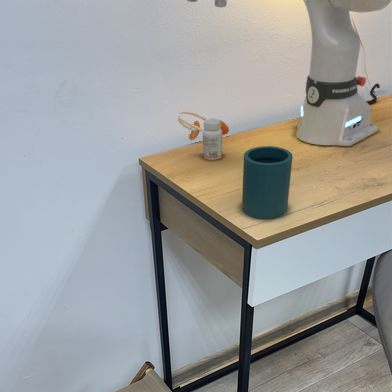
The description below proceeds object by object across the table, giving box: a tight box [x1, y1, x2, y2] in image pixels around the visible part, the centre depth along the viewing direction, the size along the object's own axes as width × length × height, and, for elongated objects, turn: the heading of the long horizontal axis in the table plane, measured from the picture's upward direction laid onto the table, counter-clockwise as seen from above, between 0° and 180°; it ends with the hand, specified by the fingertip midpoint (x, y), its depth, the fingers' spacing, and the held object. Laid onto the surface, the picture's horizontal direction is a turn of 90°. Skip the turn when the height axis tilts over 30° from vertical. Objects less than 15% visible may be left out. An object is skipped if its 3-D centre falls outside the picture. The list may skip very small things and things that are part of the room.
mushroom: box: [177, 110, 230, 141], centre depth 130 cm, size 7×8×15 cm
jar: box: [241, 145, 294, 220], centre depth 98 cm, size 9×9×11 cm
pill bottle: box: [202, 118, 223, 161], centre depth 120 cm, size 5×5×8 cm
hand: (206, 4), depth 97 cm, fingers open, 8 cm apart
